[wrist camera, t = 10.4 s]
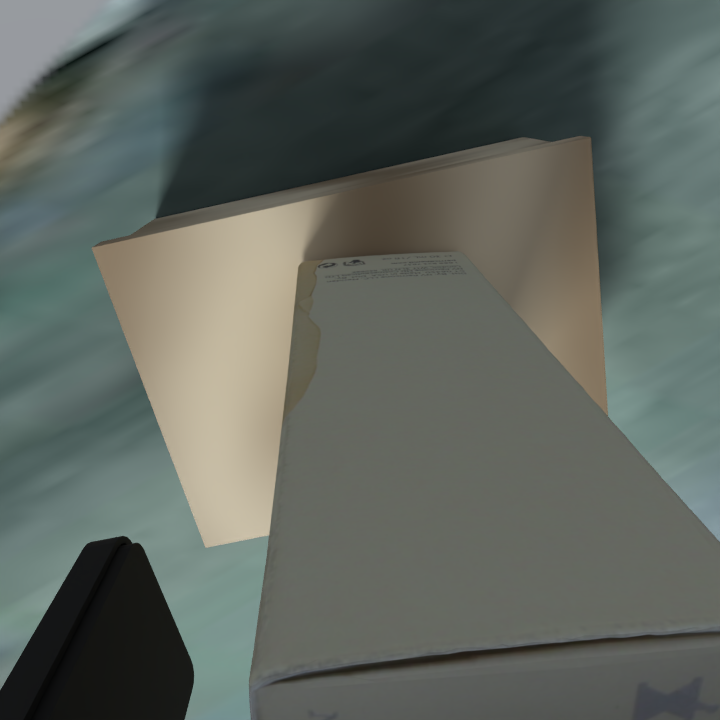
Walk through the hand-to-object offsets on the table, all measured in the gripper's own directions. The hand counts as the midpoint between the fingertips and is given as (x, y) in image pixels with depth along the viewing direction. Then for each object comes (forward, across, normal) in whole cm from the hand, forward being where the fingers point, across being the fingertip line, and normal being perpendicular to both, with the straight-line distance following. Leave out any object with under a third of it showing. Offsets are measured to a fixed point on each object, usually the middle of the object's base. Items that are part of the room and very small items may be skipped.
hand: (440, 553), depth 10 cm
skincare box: (+8, 0, 0) cm, 8 cm away
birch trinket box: (+13, +1, 0) cm, 13 cm away
